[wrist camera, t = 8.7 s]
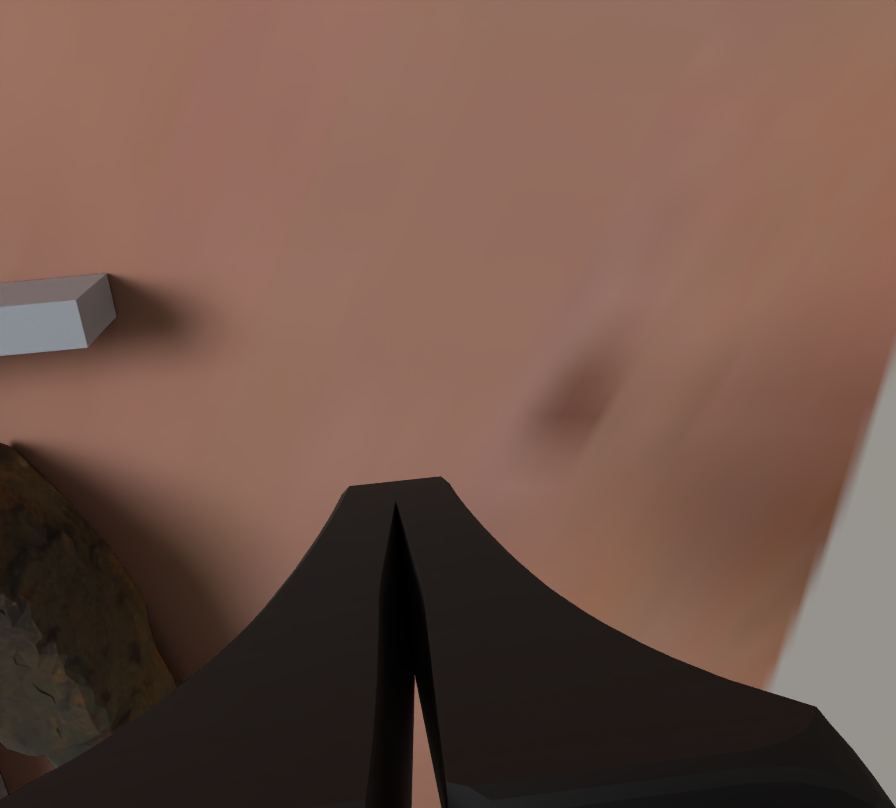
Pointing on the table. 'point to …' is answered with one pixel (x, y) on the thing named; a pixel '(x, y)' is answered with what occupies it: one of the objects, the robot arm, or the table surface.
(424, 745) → the table surface
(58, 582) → the brown rough log
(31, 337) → the box
